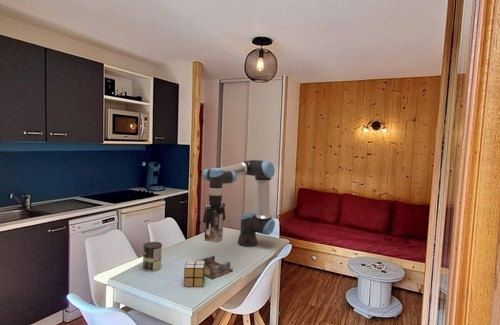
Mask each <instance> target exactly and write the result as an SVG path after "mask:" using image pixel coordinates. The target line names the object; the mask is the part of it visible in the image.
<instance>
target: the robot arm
mask: <svg viewBox="0 0 500 325" xmlns="http://www.w3.org/2000/svg"><path fill="white" fill-rule="evenodd" d="M275 170H276V169H275V165H274V163H272V162H271V161H268V160H261V159H260V160H258V159H249V160H245V161H239V162H238V163H237V164H236V163H235V164H232V165H227V166H222V167H218V168H217V167H212V168H205V169H204V170H203V171H202V179H203V180H204V181H208V182H209V186H208V187H209V189H208V190H209V191H208V192H209V193H208V194H209V195H208V201H209V202H208V204H207V205H206V204H205V205H204V213H203V219H202V223H204V224H205V223H206V234H207V235H210V227H211V224H209V223H210V221H211V218H212V215H213V213H214V212H217V213H223V222H224V221H225V220H226V208H225V206H226V203H223V202H222V201H223V185H226V184H234V183H235V182H236V181H237V176H252V177H254V179H255V181H256V185H257V187H256V188H257V189H256V190H257V191H256V192H257V213H254V212H247V213H243V214H241V217H240V232H239V236H238V239H237V244H238V245H239V246H242V247H256V246H257V245H258V239H257V234H256V233H258V234H261V235H264V236H265V235H266V236H269V235H271V234H272V233H273V232H274V229H275V225H276V222H275V220H274V219H273V218H272V214H271V213H270V181H271V180H272V178H273V177H274V176H275V172H276V171H275Z"/></svg>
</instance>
